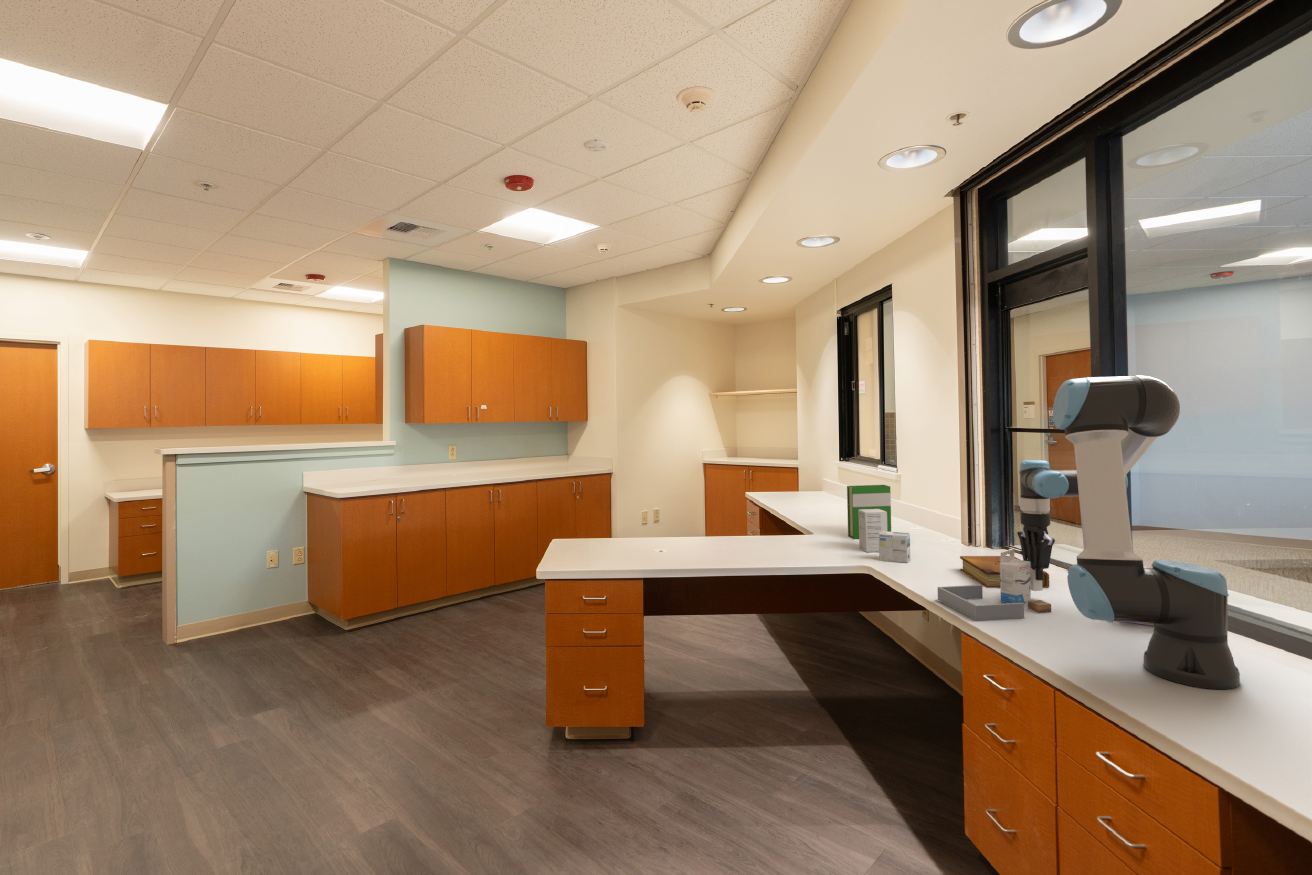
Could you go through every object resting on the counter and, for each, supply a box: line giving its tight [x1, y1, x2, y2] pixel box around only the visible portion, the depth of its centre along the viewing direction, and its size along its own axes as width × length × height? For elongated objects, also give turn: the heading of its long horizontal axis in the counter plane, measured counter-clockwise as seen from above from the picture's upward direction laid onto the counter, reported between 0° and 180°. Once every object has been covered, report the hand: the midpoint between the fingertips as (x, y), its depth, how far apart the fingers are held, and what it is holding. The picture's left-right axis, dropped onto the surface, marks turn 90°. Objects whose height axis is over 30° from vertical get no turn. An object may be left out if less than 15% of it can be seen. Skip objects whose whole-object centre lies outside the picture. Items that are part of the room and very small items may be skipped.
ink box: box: [999, 549, 1032, 604], centre depth 177 cm, size 8×5×15 cm, turn 123°
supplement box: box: [858, 509, 887, 553], centre depth 251 cm, size 10×9×17 cm
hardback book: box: [846, 484, 892, 540], centre depth 277 cm, size 18×7×24 cm, turn 91°
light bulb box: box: [878, 531, 912, 564], centre depth 232 cm, size 11×7×11 cm, turn 58°
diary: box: [959, 555, 1050, 589], centre depth 202 cm, size 23×19×6 cm
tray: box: [937, 584, 1025, 622], centre depth 171 cm, size 19×14×4 cm
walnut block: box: [1027, 599, 1052, 614], centre depth 168 cm, size 4×4×2 cm
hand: (1036, 589), depth 178 cm, fingers closed
